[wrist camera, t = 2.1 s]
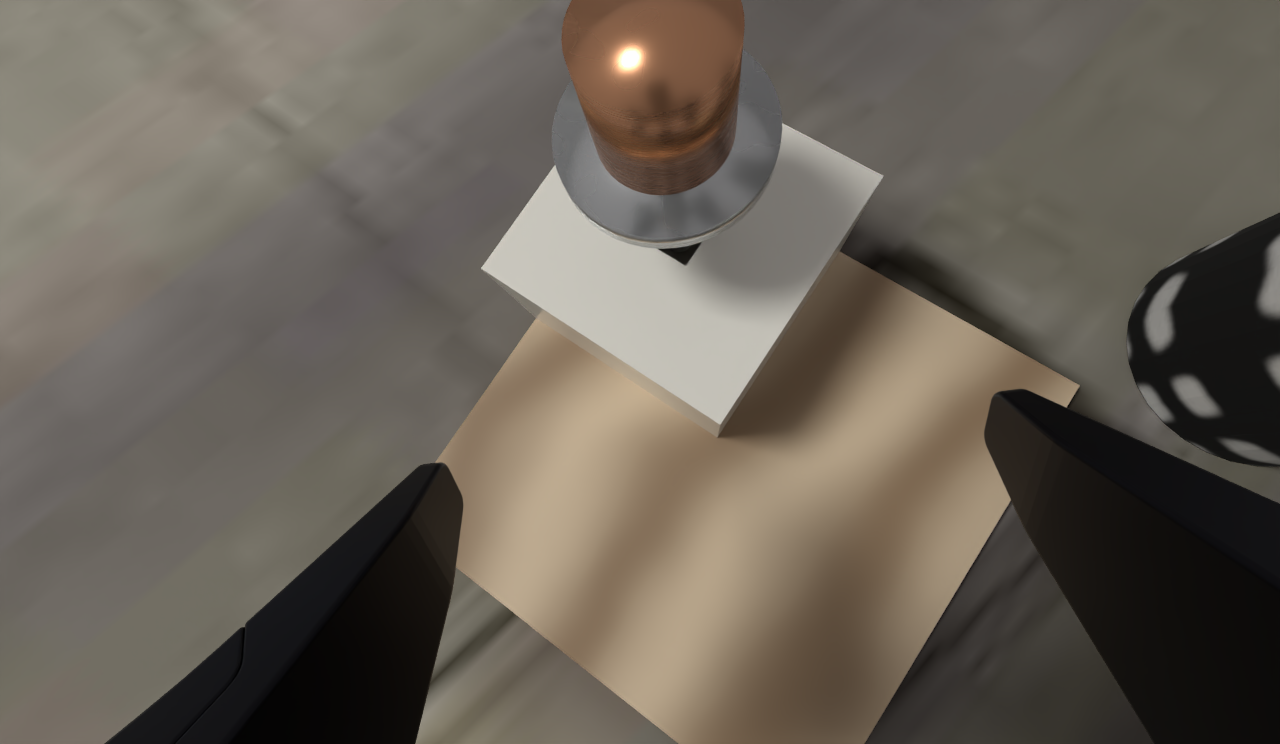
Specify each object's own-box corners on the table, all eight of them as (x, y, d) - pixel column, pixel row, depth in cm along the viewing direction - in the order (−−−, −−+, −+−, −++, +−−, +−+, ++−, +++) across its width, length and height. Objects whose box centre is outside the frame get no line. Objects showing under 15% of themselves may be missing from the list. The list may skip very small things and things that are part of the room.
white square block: (839, 251, 23) (883, 175, 17) (717, 437, 22) (720, 424, 17) (654, 148, 25) (638, 48, 19) (536, 318, 24) (481, 268, 18)
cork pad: (1071, 387, 22) (1079, 385, 21) (802, 834, 20) (804, 843, 20) (656, 154, 25) (654, 148, 25) (402, 518, 24) (395, 519, 23)
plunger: (789, 212, 19) (863, -27, 10) (701, 344, 18) (694, 220, 9) (656, 139, 20) (613, -139, 11) (570, 262, 19) (450, 79, 10)
